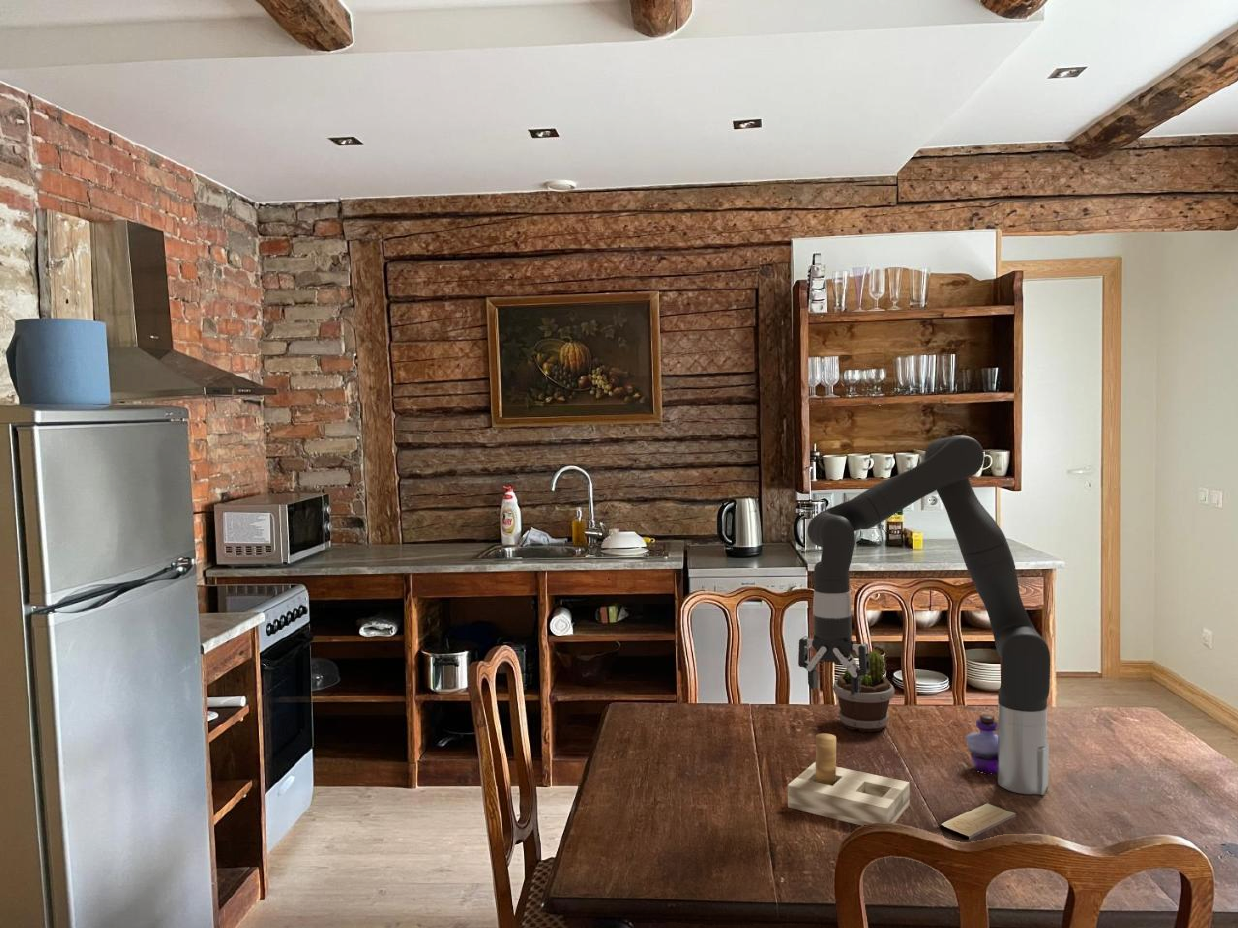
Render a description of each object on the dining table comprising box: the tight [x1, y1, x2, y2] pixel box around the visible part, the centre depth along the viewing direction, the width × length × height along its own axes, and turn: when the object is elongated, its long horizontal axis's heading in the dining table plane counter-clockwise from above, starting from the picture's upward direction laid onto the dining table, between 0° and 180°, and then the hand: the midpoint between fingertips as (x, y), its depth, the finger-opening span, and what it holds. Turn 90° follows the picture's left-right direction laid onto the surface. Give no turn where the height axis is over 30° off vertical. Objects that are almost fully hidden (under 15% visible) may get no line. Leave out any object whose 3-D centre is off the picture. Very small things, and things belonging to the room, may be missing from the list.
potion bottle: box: [965, 713, 998, 776], centre depth 196 cm, size 9×9×12 cm
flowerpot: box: [831, 645, 896, 733], centre depth 224 cm, size 14×15×20 cm
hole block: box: [787, 761, 911, 827], centre depth 180 cm, size 20×14×4 cm
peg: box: [815, 732, 837, 786], centre depth 182 cm, size 4×4×12 cm
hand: (833, 691), depth 183 cm, fingers open, 8 cm apart
